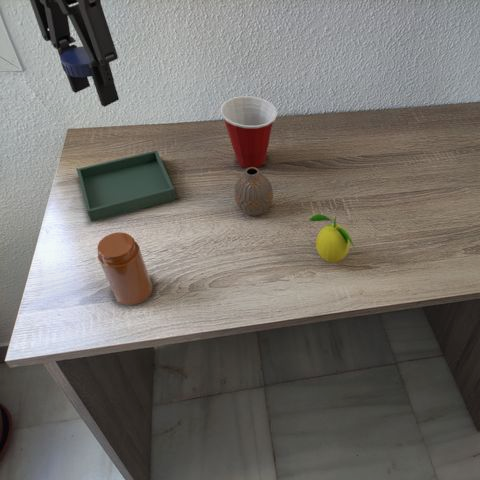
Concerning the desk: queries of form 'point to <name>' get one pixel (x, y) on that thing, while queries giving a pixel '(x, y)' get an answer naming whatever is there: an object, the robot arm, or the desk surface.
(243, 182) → the vase
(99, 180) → the tray
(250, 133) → the plastic cup
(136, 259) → the jam jar
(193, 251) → the desk surface
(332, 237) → the lemon
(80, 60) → the jar lid
